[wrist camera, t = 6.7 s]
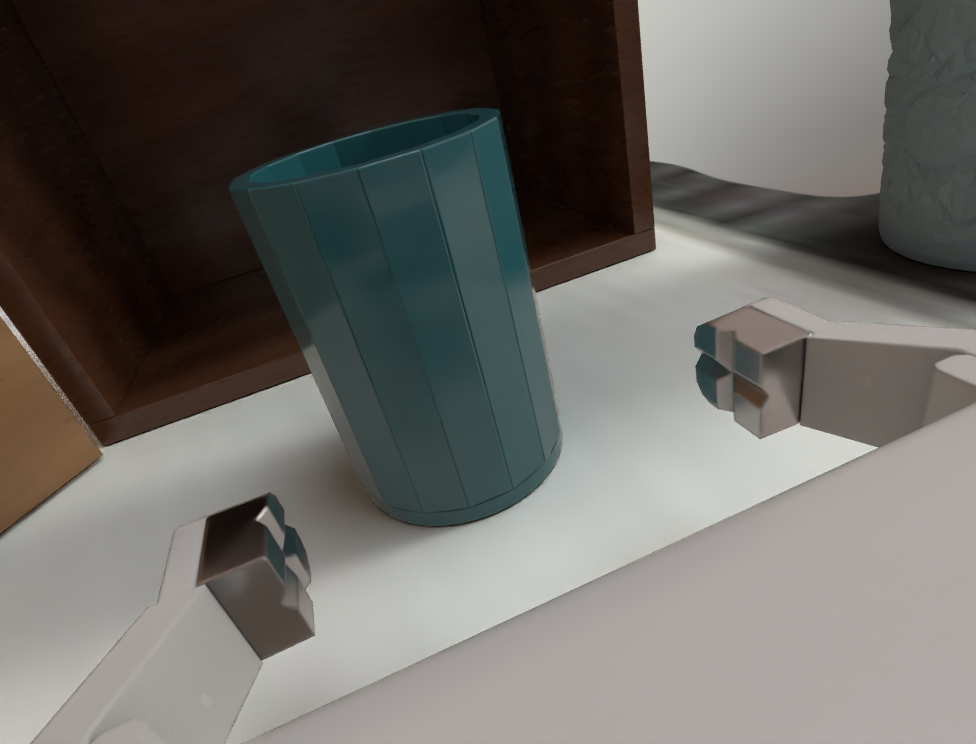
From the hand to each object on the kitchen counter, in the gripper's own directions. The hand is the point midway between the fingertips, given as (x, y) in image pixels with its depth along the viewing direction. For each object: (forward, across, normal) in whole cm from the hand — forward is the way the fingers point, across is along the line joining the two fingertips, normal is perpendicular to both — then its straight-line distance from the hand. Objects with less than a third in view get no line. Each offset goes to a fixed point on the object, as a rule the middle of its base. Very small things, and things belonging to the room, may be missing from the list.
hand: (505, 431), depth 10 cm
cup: (+7, 0, +6) cm, 9 cm away
